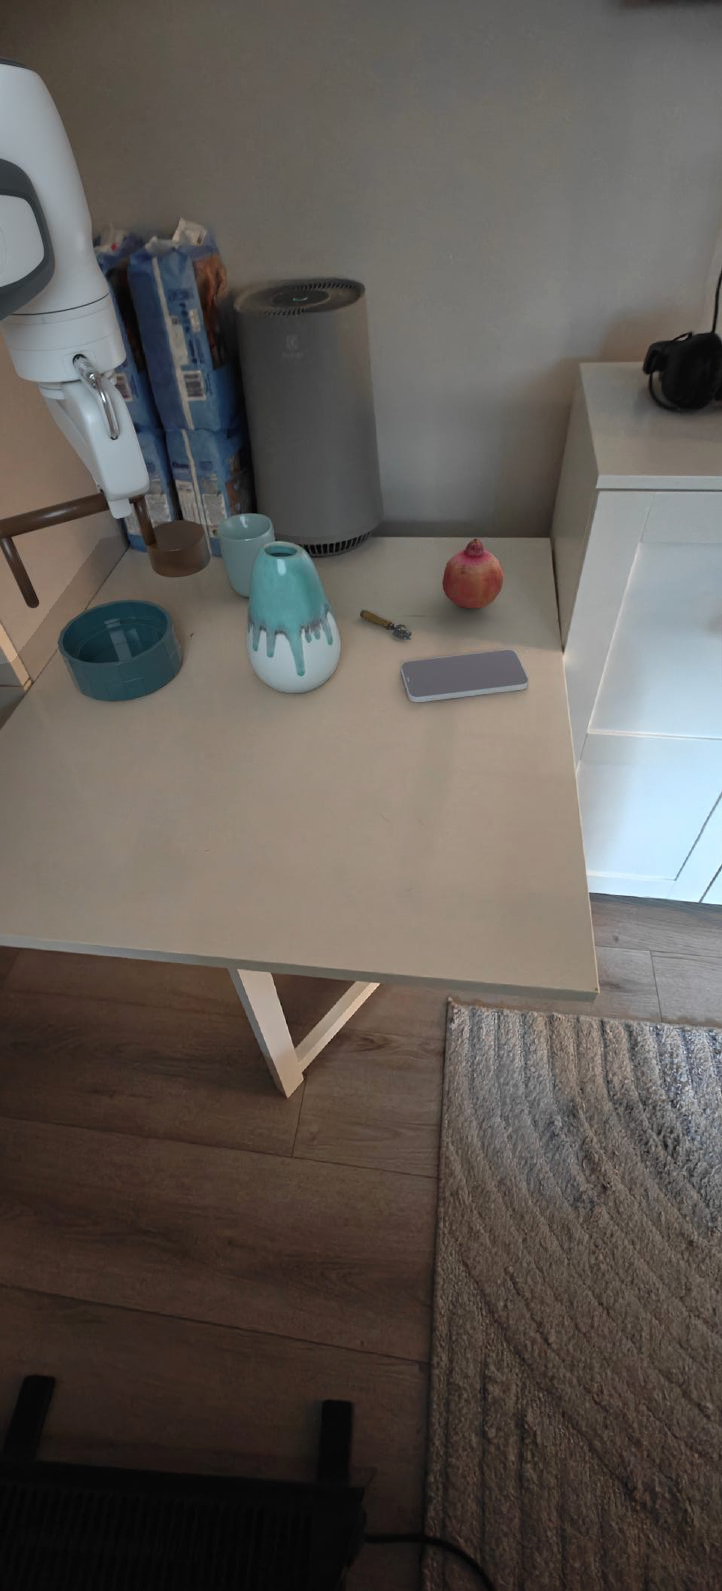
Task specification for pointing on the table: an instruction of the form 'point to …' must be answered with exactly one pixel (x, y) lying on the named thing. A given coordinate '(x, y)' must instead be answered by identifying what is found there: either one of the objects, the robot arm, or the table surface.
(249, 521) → the cup
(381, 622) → the can opener
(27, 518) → the ladle
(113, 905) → the table surface
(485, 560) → the fruit
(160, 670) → the bowl
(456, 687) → the smartphone
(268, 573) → the vase
